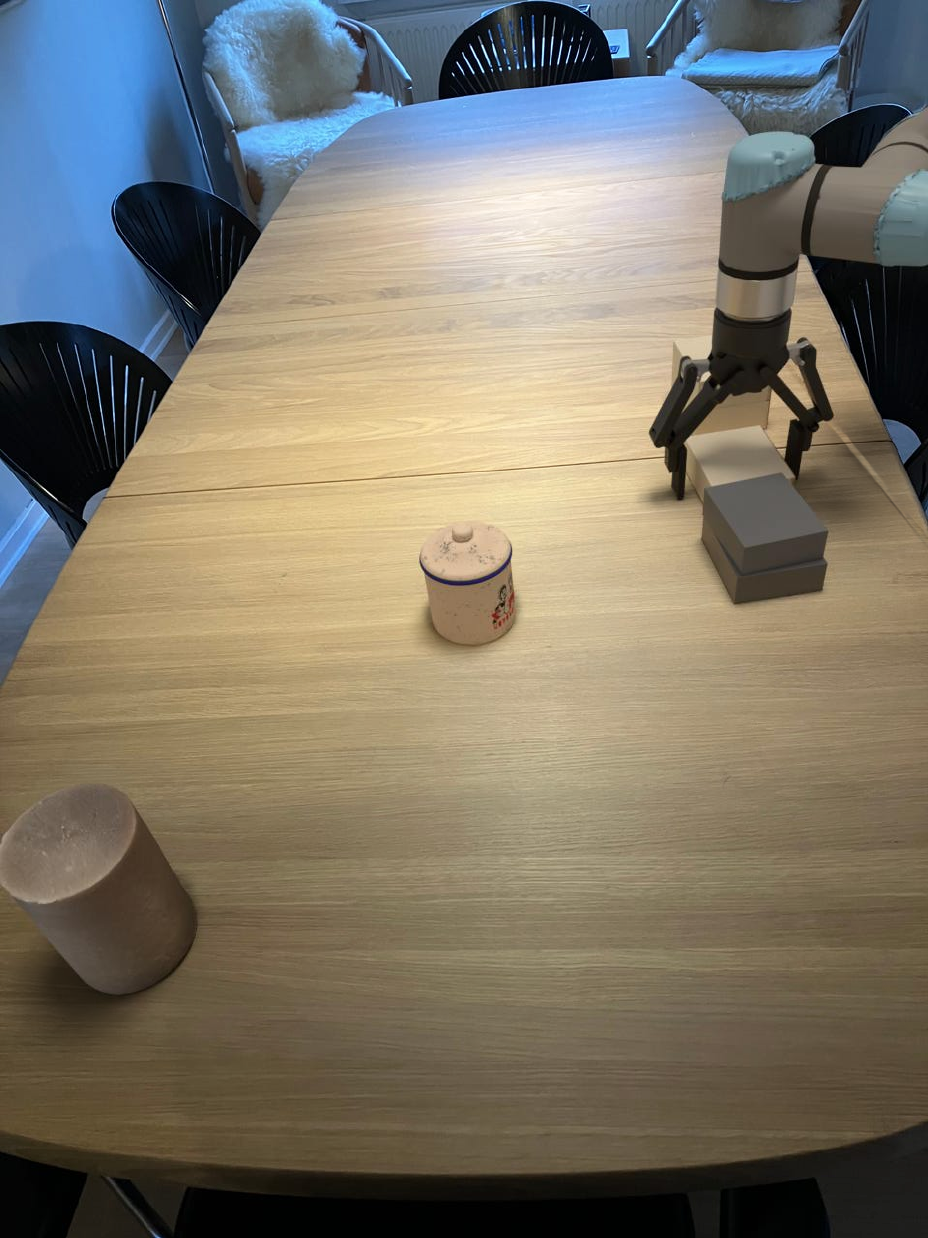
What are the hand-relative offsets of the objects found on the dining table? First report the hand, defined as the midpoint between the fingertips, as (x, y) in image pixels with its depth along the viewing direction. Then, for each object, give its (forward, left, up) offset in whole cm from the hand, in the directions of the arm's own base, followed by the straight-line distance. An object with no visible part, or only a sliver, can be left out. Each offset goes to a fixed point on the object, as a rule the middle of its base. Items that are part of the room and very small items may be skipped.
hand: (734, 483), depth 107 cm
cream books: (-3, -16, 0) cm, 16 cm away
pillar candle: (+63, +46, 0) cm, 78 cm away
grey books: (+2, +14, 0) cm, 14 cm away
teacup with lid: (+32, +14, 0) cm, 35 cm away
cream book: (0, 0, 0) cm, 0 cm away
